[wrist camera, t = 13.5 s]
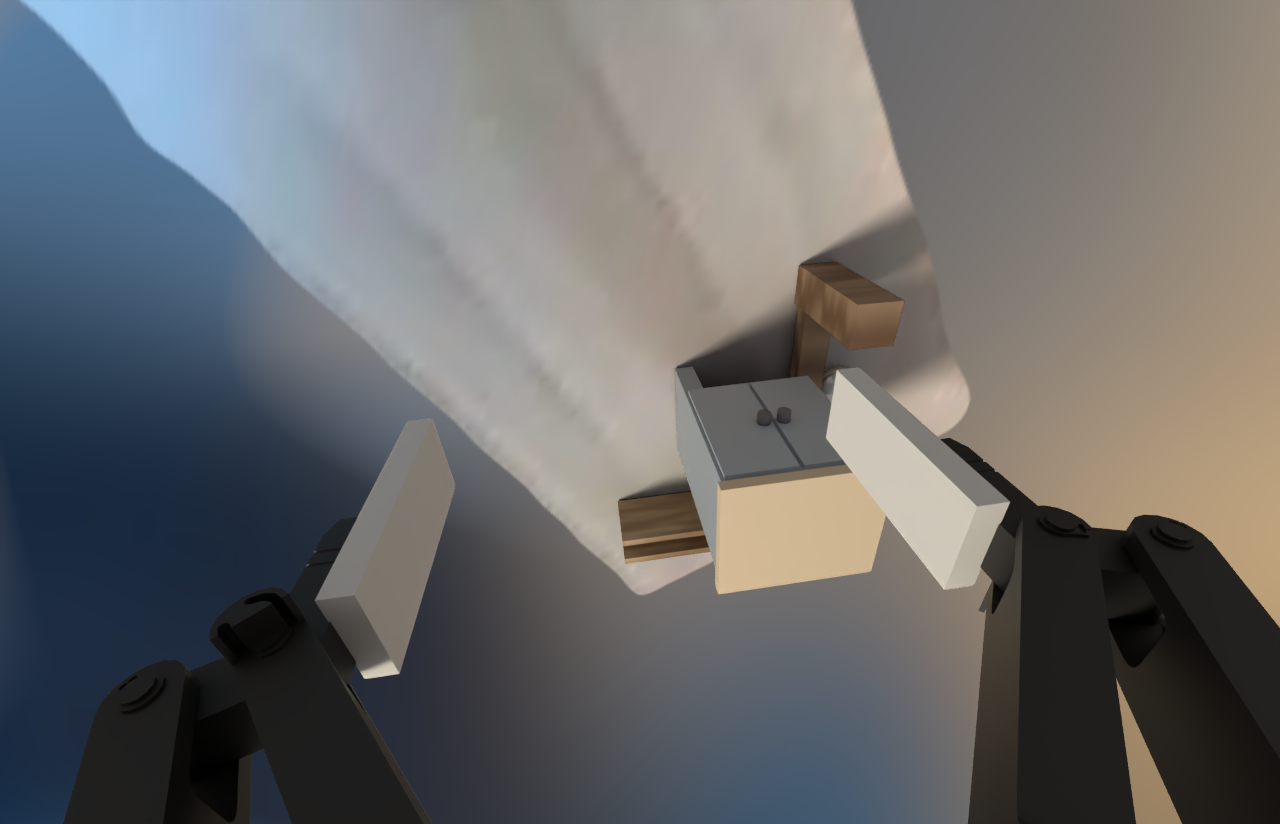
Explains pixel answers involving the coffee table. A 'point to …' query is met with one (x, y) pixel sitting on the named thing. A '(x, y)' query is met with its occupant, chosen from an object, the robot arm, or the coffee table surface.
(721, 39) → the coffee table surface
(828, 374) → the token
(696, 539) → the stand
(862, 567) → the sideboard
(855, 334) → the wooden block
